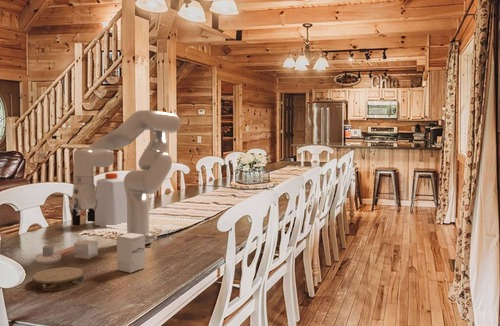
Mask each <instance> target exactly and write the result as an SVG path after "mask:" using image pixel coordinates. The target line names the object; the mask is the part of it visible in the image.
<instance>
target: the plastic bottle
mask: <svg viewBox="0 0 500 326" xmlns="http://www.w3.org/2000/svg"><path fill="white" fill-rule="evenodd" d="M104 176H105V177H104V178H100V179H99V178H98V179H97V180H96V185H95V189H96V199H97V200H98V202H97V207H96V211H95V221H94V225H95V226H97V225H101V226H100V227H102V226H106V225H117V224H121V223H126V222H127V200H126V192H125V187H124V178H122V177H118V173H116V172H110V173H109V172H108V173H105V174H104Z"/></svg>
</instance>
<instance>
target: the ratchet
mask: <svg viewBox="0 0 500 326" xmlns="http://www.w3.org/2000/svg"><path fill="white" fill-rule="evenodd" d="M71 254H74V245H73V246H70V247H67V248H64V249H61V250H59V251H54V245H49V244H48V245H44V246H43V247H42V253H39V254H37V255H35V264H38V265H52V264H56V263H58V262H60V261H62V258H64V257H66V256H68V255H71Z"/></svg>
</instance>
